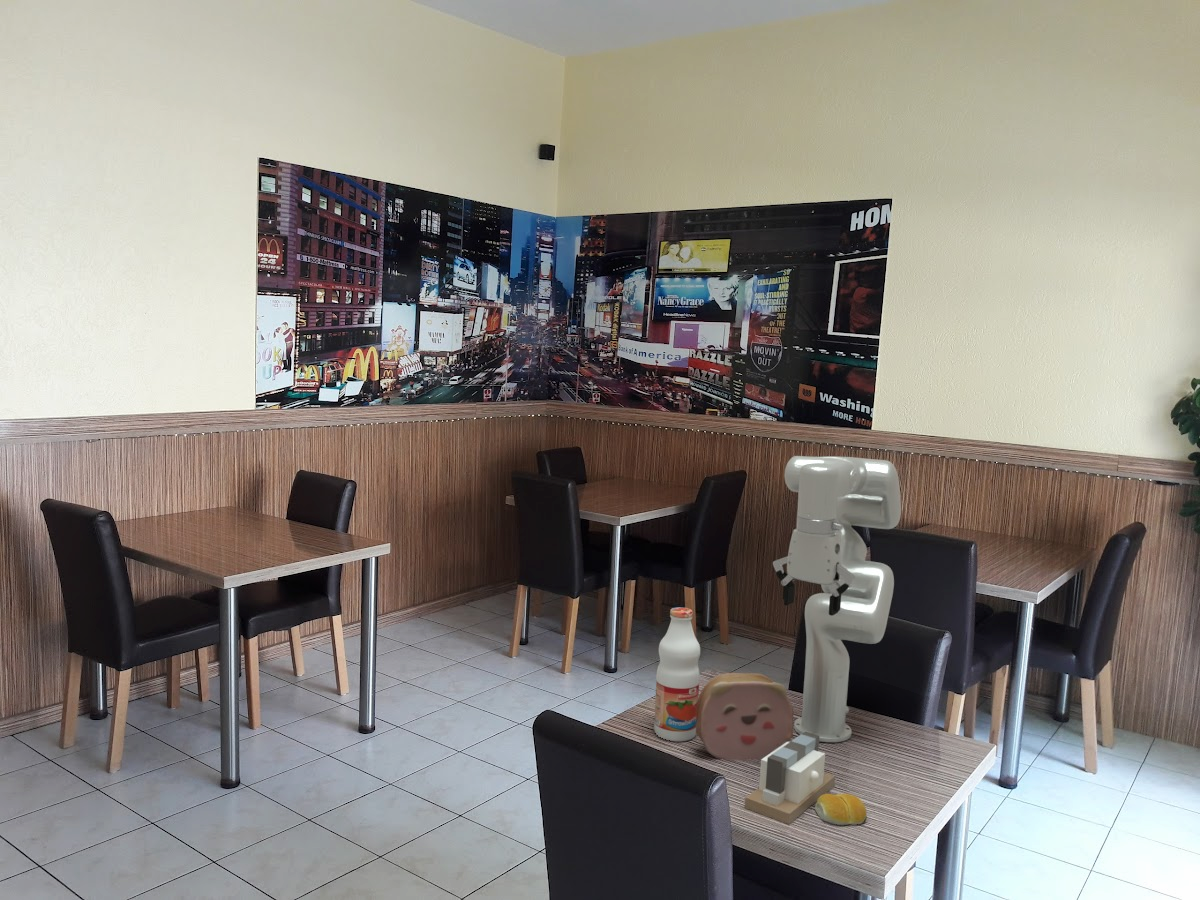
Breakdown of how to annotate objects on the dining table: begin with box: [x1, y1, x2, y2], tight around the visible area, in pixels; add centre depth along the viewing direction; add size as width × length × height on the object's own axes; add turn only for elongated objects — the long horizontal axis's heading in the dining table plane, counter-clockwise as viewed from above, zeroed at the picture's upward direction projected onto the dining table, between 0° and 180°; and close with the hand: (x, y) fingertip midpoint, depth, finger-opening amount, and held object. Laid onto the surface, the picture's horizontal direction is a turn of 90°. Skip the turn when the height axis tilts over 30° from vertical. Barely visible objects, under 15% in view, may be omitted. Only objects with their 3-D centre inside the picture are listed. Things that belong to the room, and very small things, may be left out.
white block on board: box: [744, 741, 836, 825], centre depth 177 cm, size 20×10×8 cm, turn 142°
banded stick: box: [766, 732, 820, 794], centre depth 177 cm, size 16×3×6 cm, turn 142°
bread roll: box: [814, 793, 867, 826], centre depth 171 cm, size 8×9×4 cm
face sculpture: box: [696, 672, 795, 761], centre depth 195 cm, size 20×7×17 cm, turn 96°
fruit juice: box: [653, 606, 701, 742], centre depth 203 cm, size 9×9×28 cm
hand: (810, 608), depth 187 cm, fingers open, 9 cm apart
